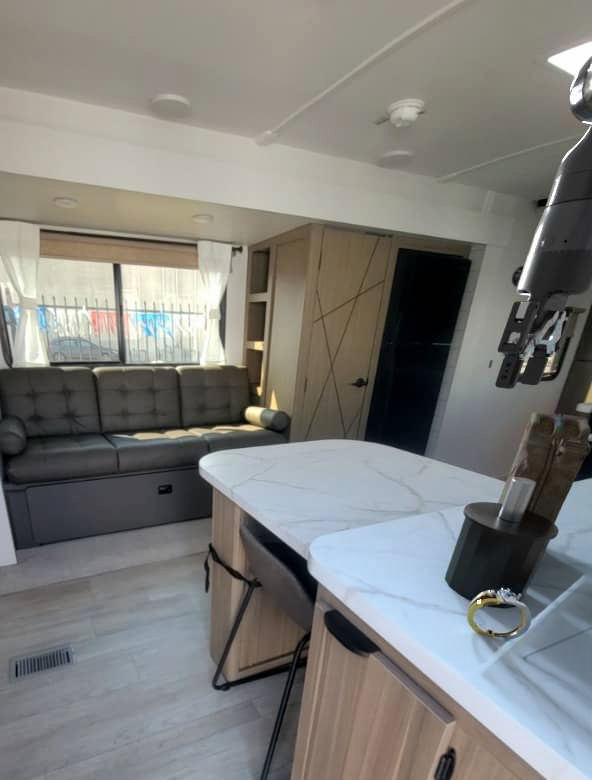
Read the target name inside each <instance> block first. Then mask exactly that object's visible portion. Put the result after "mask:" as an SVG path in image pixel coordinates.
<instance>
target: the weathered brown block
mask: <svg viewBox="0 0 592 780" xmlns="http://www.w3.org/2000/svg"><path fill="white" fill-rule="evenodd" d="M591 432H592V430H591V426H590V424H589V421H588V419H587V418H586V417H585V416H584V417H583V416H578V415H569V414H563V415H562V414H561V413H559V414H557V413H554V412H546V411H545V412H544V411H534V412H533V413H532V414H531V415H530V417H529V420H528V423H527V425H526V428H525V431H524V434H523V436H522V439H521V441H520V444H519V447H518V448H517V452H516V454H515V456H514V460H513V462H512V464H511V467H510V470H509V473H508V475H507V478H506V481H505V484H504V486H503V489H502V491H501V493H500V496H499V500H498V502H497V503H500V504H503V502H504V499H505V497H506V494H507V491H508V489H509V486H510V483H511V481H512V478H514V477H521V478H527V479H530V480H533V481H535V482H536V485H535V488H534V490H533V493H532V495H531V497H530V500H529V502H528V505H527V507H526V510H528V511H531V512H534V513H536V514H539V515H541V516H543V517H545V518H547V519H548V520H550V521H551V522H553V523H554V524H555V525H556V522H557V520H558V516H559V515H560V511H561V509H562V507H563V505H564V503H565V502H566V499H567V497H568V495H569V494H570V491H571V489H572V487H573V485H574V484H573V483H574V481H575V480H576V478H577V476H578V474H579V471H580V469H581V467H582V465H583V463H584V461H585V459H586V457H588V456H589V454H590V453H591V450H592V444H590V443H589V442H588V440H589V437H590V435H591Z"/></svg>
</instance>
